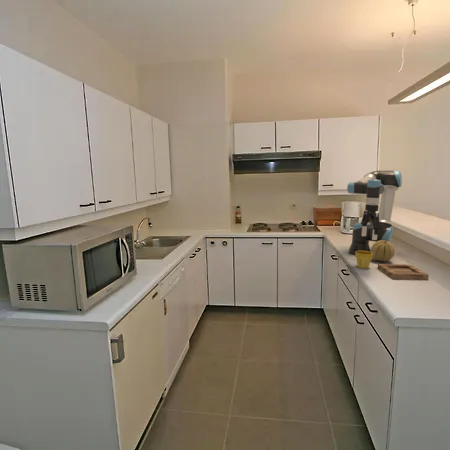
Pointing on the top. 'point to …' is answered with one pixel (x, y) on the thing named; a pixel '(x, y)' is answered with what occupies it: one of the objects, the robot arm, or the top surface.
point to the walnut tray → (402, 271)
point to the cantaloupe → (382, 250)
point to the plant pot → (363, 258)
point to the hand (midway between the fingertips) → (368, 237)
